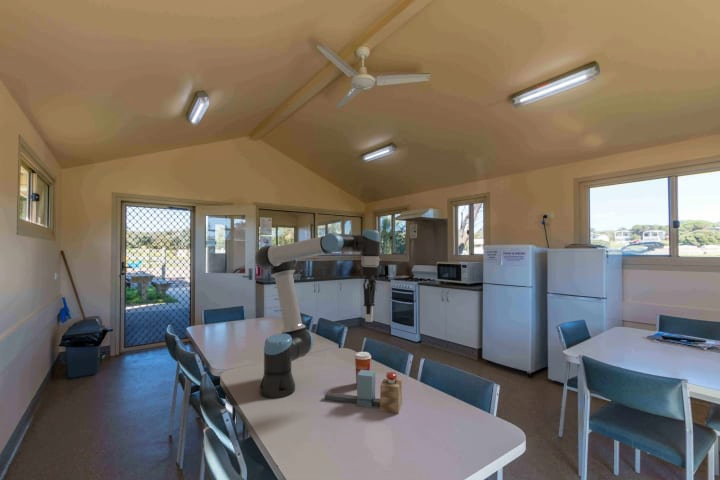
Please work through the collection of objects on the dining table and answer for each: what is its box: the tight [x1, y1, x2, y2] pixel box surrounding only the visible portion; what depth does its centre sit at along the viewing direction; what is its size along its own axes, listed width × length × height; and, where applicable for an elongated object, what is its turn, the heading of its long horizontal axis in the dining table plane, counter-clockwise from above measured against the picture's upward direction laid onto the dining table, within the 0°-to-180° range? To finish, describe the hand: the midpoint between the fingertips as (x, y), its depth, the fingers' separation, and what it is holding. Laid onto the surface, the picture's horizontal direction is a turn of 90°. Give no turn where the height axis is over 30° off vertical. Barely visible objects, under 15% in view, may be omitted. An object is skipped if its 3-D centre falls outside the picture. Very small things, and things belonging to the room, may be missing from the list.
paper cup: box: [354, 351, 372, 384], centre depth 155 cm, size 8×8×14 cm
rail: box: [324, 391, 380, 408], centre depth 137 cm, size 24×3×2 cm, turn 74°
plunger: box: [385, 371, 398, 384], centre depth 133 cm, size 4×4×6 cm
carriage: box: [356, 370, 376, 408], centre depth 136 cm, size 6×6×12 cm
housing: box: [379, 376, 403, 414], centre depth 133 cm, size 7×9×10 cm
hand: (368, 321), depth 144 cm, fingers closed
